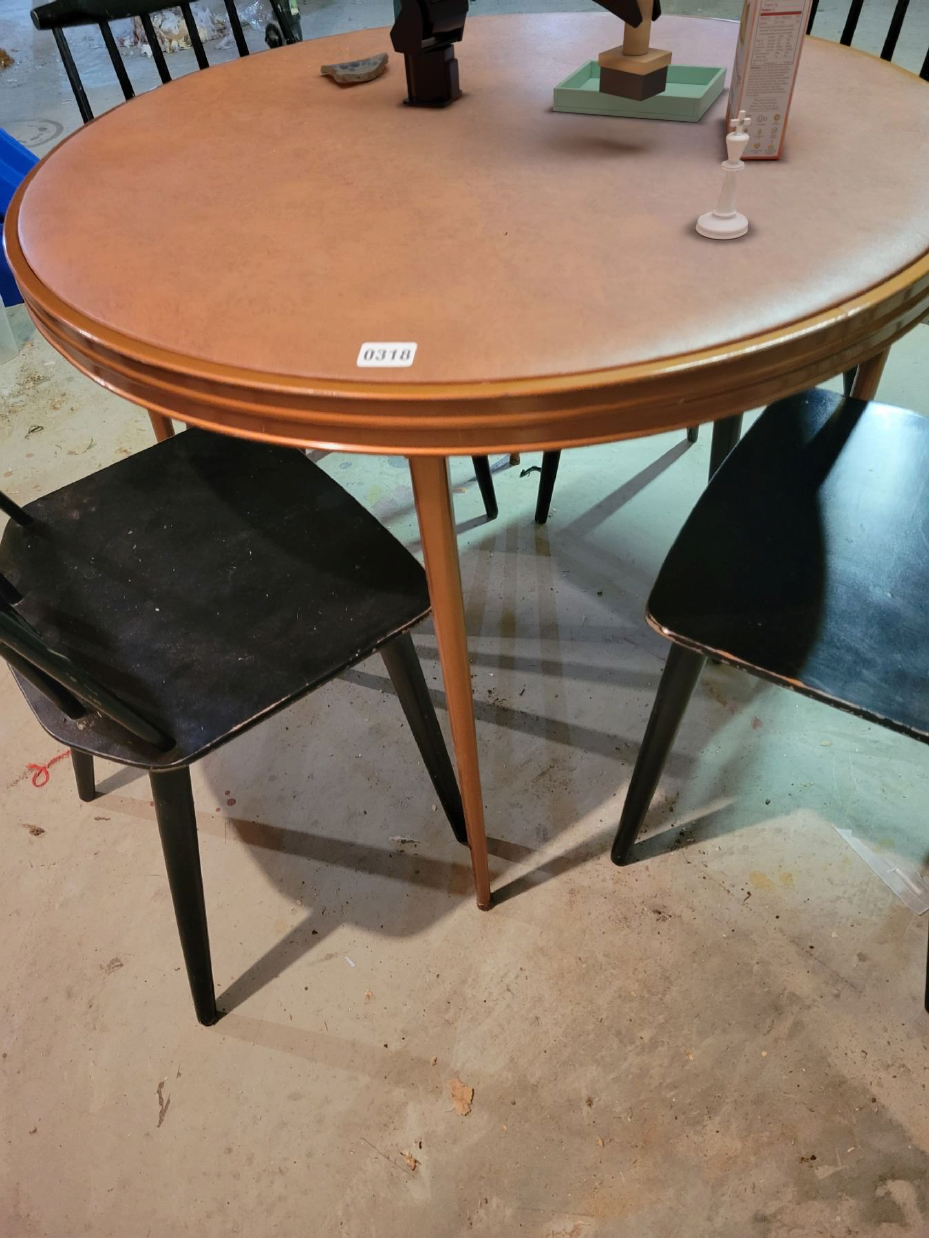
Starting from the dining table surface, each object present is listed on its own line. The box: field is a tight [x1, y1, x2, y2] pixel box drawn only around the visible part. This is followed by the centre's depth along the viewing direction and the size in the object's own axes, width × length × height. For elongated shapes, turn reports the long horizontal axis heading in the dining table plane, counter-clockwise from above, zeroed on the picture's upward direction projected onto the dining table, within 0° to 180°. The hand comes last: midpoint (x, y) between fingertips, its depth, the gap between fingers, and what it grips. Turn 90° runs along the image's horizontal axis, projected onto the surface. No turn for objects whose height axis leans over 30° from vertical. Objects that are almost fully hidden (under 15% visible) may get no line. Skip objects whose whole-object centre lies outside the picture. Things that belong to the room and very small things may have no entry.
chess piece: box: [695, 110, 751, 240], centre depth 72 cm, size 5×5×10 cm
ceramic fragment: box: [320, 52, 390, 84], centre depth 118 cm, size 11×3×10 cm
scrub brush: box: [597, 0, 673, 101], centre depth 83 cm, size 6×5×10 cm
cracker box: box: [725, 0, 813, 161], centre depth 83 cm, size 14×6×21 cm, turn 169°
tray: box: [552, 59, 728, 123], centre depth 102 cm, size 19×13×3 cm
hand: (648, 21), depth 82 cm, fingers closed on scrub brush, 3 cm apart
